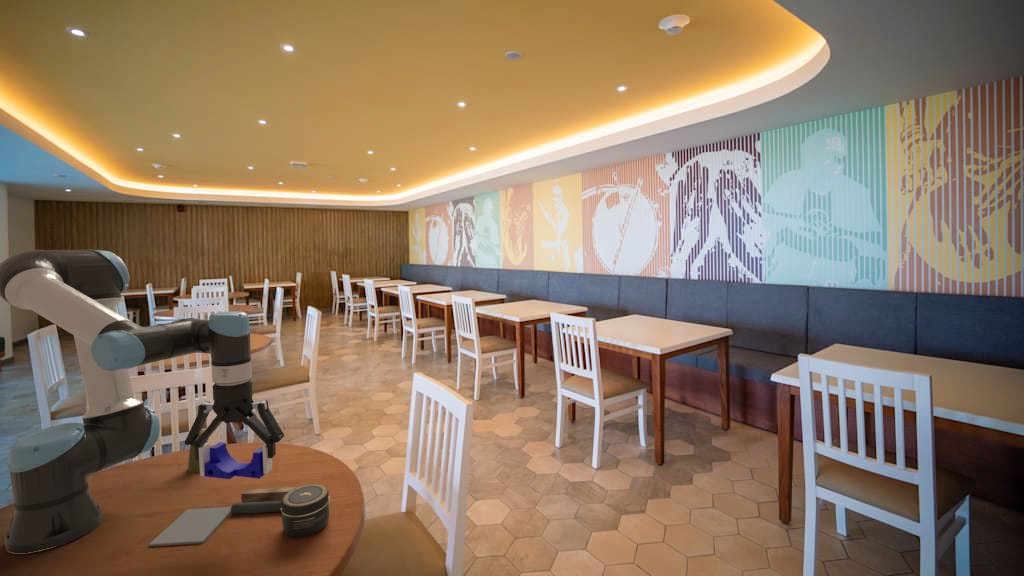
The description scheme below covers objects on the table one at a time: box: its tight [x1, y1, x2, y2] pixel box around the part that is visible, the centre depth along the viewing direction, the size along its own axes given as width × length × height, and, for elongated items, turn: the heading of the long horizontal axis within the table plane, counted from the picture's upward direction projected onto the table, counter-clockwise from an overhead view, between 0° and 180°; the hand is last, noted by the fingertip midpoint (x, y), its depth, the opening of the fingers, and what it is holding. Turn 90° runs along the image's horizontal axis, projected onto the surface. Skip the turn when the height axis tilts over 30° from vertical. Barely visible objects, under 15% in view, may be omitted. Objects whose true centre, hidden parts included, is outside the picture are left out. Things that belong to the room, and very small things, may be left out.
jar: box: [281, 483, 330, 539], centre depth 102 cm, size 10×10×8 cm
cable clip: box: [204, 441, 266, 480], centre depth 100 cm, size 12×4×6 cm, turn 84°
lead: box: [230, 501, 282, 515], centre depth 108 cm, size 14×2×2 cm
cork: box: [187, 429, 210, 474], centre depth 129 cm, size 6×6×11 cm
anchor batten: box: [240, 486, 298, 503], centre depth 113 cm, size 14×2×2 cm, turn 95°
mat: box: [148, 506, 232, 547], centre depth 102 cm, size 11×13×1 cm
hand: (237, 472), depth 100 cm, fingers closed on cable clip, 13 cm apart
